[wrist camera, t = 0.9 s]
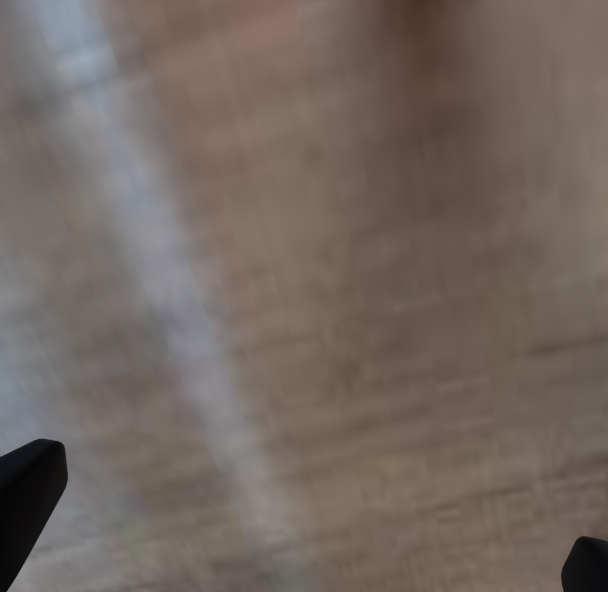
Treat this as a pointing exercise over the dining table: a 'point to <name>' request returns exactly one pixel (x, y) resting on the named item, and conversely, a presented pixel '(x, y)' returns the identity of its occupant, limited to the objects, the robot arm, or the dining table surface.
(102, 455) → the dining table surface
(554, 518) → the dining table surface
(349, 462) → the dining table surface
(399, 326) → the dining table surface
